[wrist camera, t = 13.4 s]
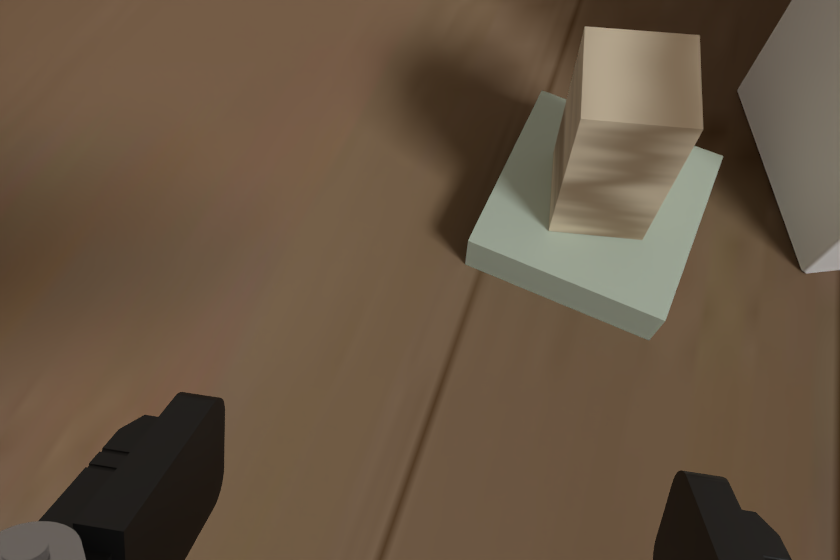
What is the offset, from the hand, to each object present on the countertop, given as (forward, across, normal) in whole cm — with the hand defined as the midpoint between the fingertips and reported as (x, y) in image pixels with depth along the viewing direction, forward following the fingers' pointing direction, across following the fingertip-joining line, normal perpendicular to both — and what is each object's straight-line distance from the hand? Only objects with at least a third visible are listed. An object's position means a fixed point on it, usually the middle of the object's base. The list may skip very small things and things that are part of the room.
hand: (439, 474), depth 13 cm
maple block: (+29, -7, +2) cm, 30 cm away
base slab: (+32, -7, +4) cm, 33 cm away
